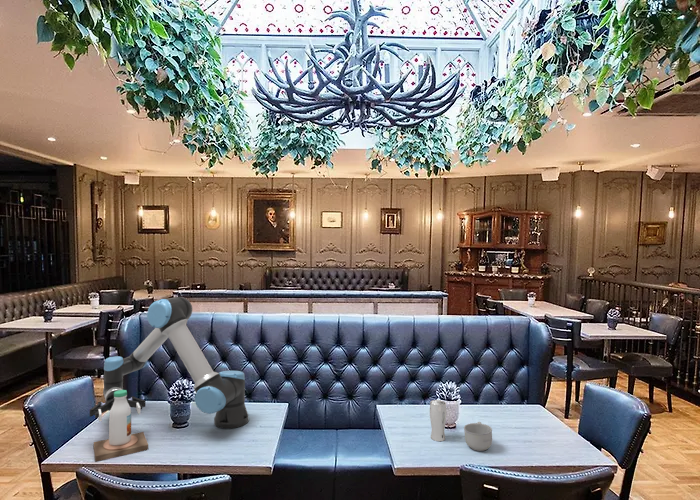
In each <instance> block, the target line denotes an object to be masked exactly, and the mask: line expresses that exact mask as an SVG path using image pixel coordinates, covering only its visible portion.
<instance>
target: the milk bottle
mask: <svg viewBox="0 0 700 500" xmlns="http://www.w3.org/2000/svg"><path fill="white" fill-rule="evenodd" d="M127 397H128V391H127V389H123V390H118V391H115V392H114V398H115V400H114V403H113V406H112V408H111V410H109V415H108V416H109V418H108V421H109V422H108V439H109V444H110V445H113V446H117V445H123V444H126V443H128V442H129V441H130V440H131V434H132V410H131V407H130V406H129V404H128V402H127V399H128V398H127ZM126 398H127V399H126Z"/></svg>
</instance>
